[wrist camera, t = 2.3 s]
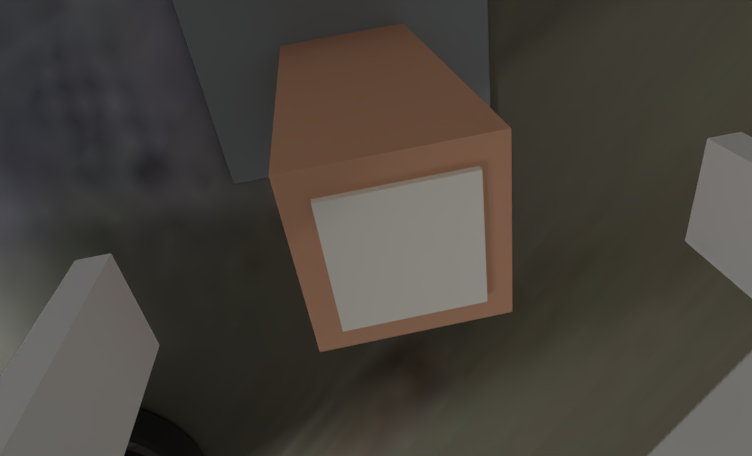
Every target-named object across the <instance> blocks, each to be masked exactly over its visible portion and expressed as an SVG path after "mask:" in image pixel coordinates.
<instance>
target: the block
mask: <svg viewBox="0 0 752 456" xmlns="http://www.w3.org/2000/svg"><path fill="white" fill-rule="evenodd" d="M268 176H269V179H270V183H271V186H272V190H273V193H274V197H275V200H276V203H277V207H278V210H279V214H280V217H281V221H282V224H283V227H284V231H285V234H286V238H287V241H288V245H289V248H290V251H291V255H292V258H293V262H294V265H295V269H296V272H297V276H298V279H299V282H300V286H301V289H302V293H303V296H304V300H305V303H306V306H307V310H308V313H309V317H310V320H311V324H312V327H313V330H314V334H315V337H316V341H317V344H318V348H319V351H320V352H324V351H328V350H333V349H338V348H342V347H347V346H352V345H357V344H361V343H366V342H371V341H376V340H380V339H385V338H390V337H395V336H399V335H404V334H409V333H414V332H418V331H423V330H428V329H433V328H437V327H442V326H447V325H452V324H456V323H461V322H466V321H471V320H475V319H480V318H485V317H489V316H494V315H499V314H504V313H508V312H512V140H511V127H510V126H509V125H508V124H507V123H506V122H504V121H503V120H502V119H501V118H500V117H499V116H498V115H497V114H496V113H495V112H494V111H493V110H492V109H491V108H490V107H489V106H488V105H487V104H486V103H485V102H484V101H483V100H482V99H481V98H480V97H479V96H478V95H477V94H476V93H475V92H474V91H473V90H472V89H471V88H469V87H468V86H467V85H466V84H465V83H464V82H463V81H462V80H461V79H460V78H459V77H458V76H457V75H456V74H455V73H454V72H453V71H452V70H451V69H450V68H449V67H448V66H447V65H446V64H445V63H444V62H443V61H442V60H441V59H440V58H439V57H438V56H437V55H435V54H434V53H433V52H432V51H431V50H430V49H429V48H428V47H427V46H426V45H425V44H424V43H423V42H422V41H421V40H420V39H419V38H418V37H417V36H416V35H415V34H414V33H413V32H412V31H411V30H410V29H409V28H408V27H407V26H406V25H405V24H404V23H401V24H395V25H390V26H384V27H379V28H374V29H368V30H363V31H358V32H352V33H347V34H341V35H336V36H331V37H325V38H320V39H315V40H309V41H304V42H298V43H293V44H288V45H282V46H280V53H279V65H278V76H277V87H276V98H275V109H274V120H273V131H272V142H271V153H270V164H269V175H268Z"/></svg>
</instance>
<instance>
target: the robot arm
mask: <svg viewBox="0 0 752 456" xmlns="http://www.w3.org/2000/svg"><path fill="white" fill-rule="evenodd" d="M685 242H687V243H688V244H689V245H690V246H691V247H692V248H694V249H695V250H696V251H697V252H698V253H699V254H701V255H702V256H703V257H704V258H705V259H706V260H708V261H709V262H710V263H711V264H712V265H713V266H715V267H716V268H717V269H718V270H719V271H720V272H722V273H723V274H724V275H725V276H726V277H727V278H729V279H730V280H731V281H732V282H733V283H734V284H736V285H737V286H738V287H739V288H740V289H741V290H743V291H744V292H745V293H746V294H747V295H748V296H750V297H751V298H752V137H750V136H748V135H746V134H744V133H742V132H738V133H732V134H727V135H722V136H717V137H712V138H707V143H706V147H705V152H704V156H703V161H702V165H701V170H700V175H699V179H698V184H697V188H696V193H695V197H694V202H693V207H692V211H691V216H690V220H689V225H688V229H687V234H686V238H685ZM159 346H160V345H159V343H158V341H157V339H156V337H155V335H154V334H153V332H152V330H151V328H150V326H149V324H148V322H147V320H146V318H145V316H144V315H143V313H142V311H141V309H140V307H139V305H138V303H137V301H136V299H135V298H134V296H133V294H132V292H131V290H130V288H129V286H128V284H127V282H126V280H125V279H124V277H123V275H122V273H121V271H120V269H119V267H118V265H117V263H116V262H115V260H114V258H113V256H112V254H111V253H110V254H104V255H99V256H94V257H89V258H84V259H79V260H75V261H74V263H73V264H72V266H71V267H70V269H69V270H68V272H67V274H66V275H65V277H64V278H63V280H62V281H61V283H60V284H59V286H58V288H57V289H56V291H55V292H54V294H53V295H52V297H51V298H50V300H49V302H48V303H47V305H46V306H45V308H44V309H43V311H42V312H41V314H40V316H39V317H38V319H37V320H36V322H35V323H34V325H33V326H32V328H31V330H30V331H29V333H28V334H27V336H26V337H25V339H24V340H23V342H22V344H21V345H20V347H19V348H18V350H17V351H16V353H15V355H14V356H13V358H12V359H11V361H10V362H9V364H8V365H7V367H6V369H5V370H4V372H3V373H2V375H1V376H0V456H202V454H201V452H200V451H199V449H198V448H197V446H196V445H195V444H194V443H193V441H192V440H191V439H190V438H189V437H188V436H187V435H185V434H184V433H183V432H182V431H181V430H179V429H178V428H176V427H175V426H174V425H172V424H170V423H169V422H167V421H165V420H163V419H162V418H160V417H158V416H155V415H153V414H151V413H149V412H146V411H143V410H141V409H139V408H140V405H141V402H142V399H143V395H144V392H145V389H146V386H147V383H148V380H149V377H150V374H151V371H152V367H153V364H154V361H155V358H156V355H157V352H158V349H159Z"/></svg>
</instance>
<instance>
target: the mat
mask: <svg viewBox="0 0 752 456" xmlns="http://www.w3.org/2000/svg"><path fill="white" fill-rule="evenodd" d="M172 2H173V5H174V8H175V11H176V14H177V17H178V20H179V23H180V26H181V29H182V32H183V35H184V38H185V41H186V44H187V47H188V50H189V53H190V56H191V59H192V62H193V65H194V68H195V71H196V74H197V76H198V79H199V82H200V85H201V88H202V91H203V94H204V97H205V100H206V103H207V106H208V109H209V112H210V115H211V118H212V121H213V124H214V127H215V130H216V133H217V136H218V139H219V142H220V145H221V148H222V151H223V154H224V157H225V160H226V163H227V166H228V169H229V172H230V175H231V178H232V181H233V184H239V183H244V182H249V181H254V180H259V179H264V178H269V176H268V175H269V164H270V153H271V142H272V131H273V120H274V109H275V98H276V87H277V76H278V65H279V53H280V46H282V45H288V44H293V43H298V42H304V41H309V40H315V39H320V38H325V37H331V36H336V35H341V34H347V33H352V32H358V31H363V30H368V29H374V28H379V27H384V26H390V25H395V24H401V23H404V24H405V25H406V26H407V27H408V28H409V29H410V30H411V31H412V32H413V33H414V34H415V35H416V36H417V37H418V38H419V39H420V40H421V41H422V42H423V43H424V44H425V45H426V46H427V47H428V48H429V49H430V50H431V51H432V52H433V53H434V54H435V55H437V56H438V57H439V58H440V59H441V60H442V61H443V62H444V63H445V64H446V65H447V66H448V67H449V68H450V69H451V70H452V71H453V72H454V73H455V74H456V75H457V76H458V77H459V78H460V79H461V80H462V81H463V82H464V83H465V84H466V85H467V86H468V87H469V88H471V89H472V90H473V91H474V92H475V93H476V94H477V95H478V96H479V97H480V98H481V99H482V100H483V101H484V102H485V103H486V104H487V105H488V106H489V107H490V108H491V106H490V71H489V35H488V0H172Z"/></svg>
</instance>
